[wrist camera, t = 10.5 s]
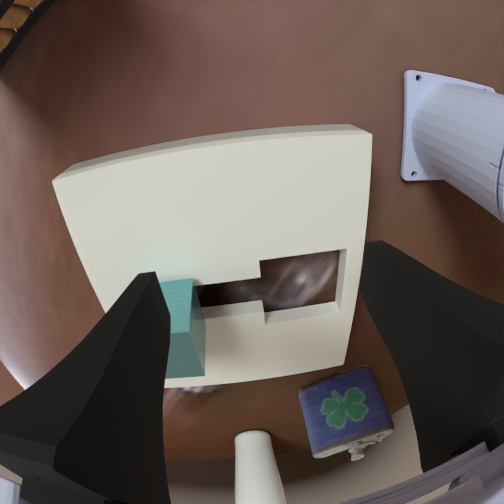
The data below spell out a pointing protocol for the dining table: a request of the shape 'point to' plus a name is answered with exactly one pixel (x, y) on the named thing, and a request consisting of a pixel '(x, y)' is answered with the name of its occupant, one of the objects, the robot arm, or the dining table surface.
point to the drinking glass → (256, 470)
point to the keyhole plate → (230, 234)
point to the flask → (345, 412)
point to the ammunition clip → (18, 23)
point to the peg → (185, 329)
